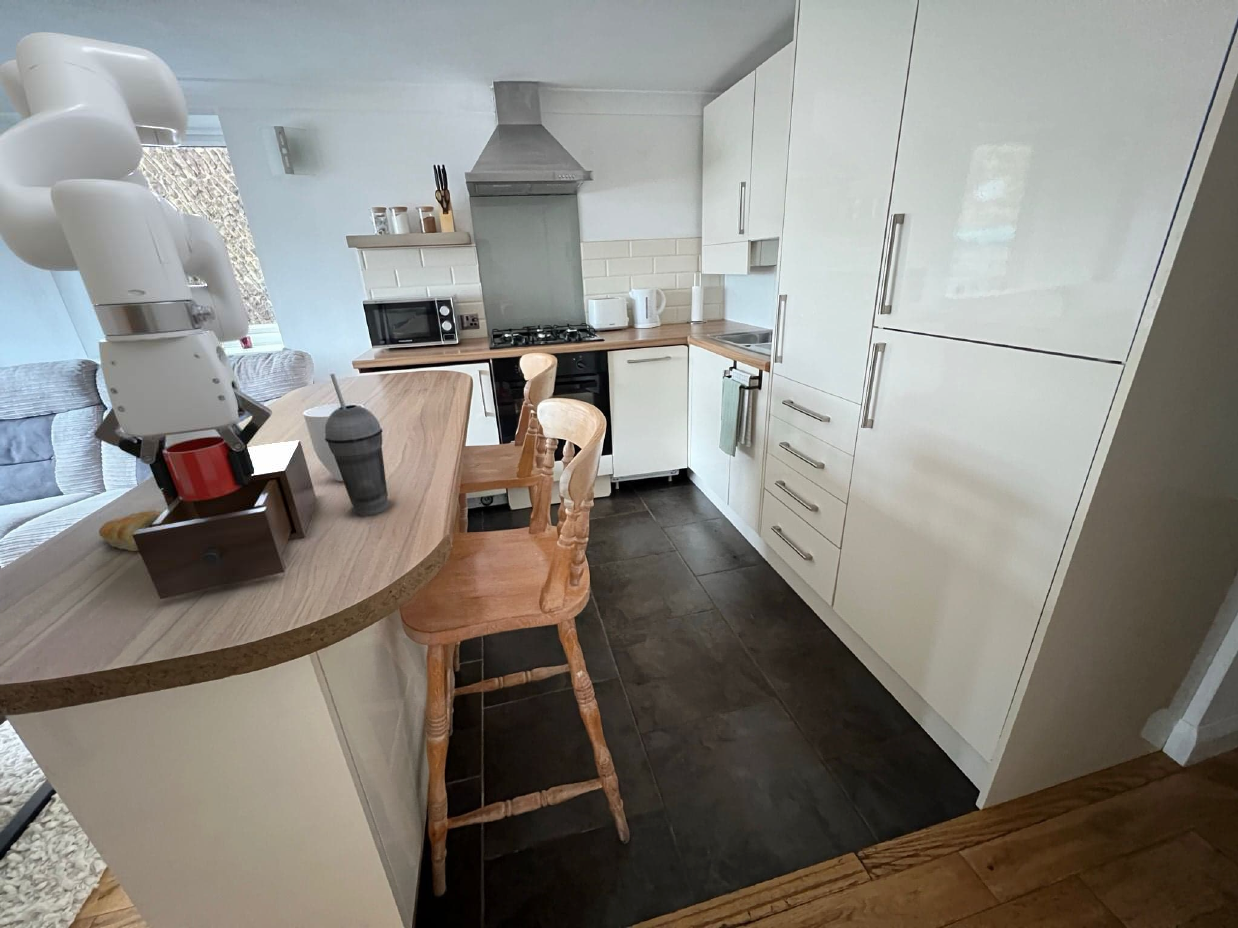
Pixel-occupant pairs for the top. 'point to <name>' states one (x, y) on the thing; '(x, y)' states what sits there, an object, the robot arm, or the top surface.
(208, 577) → the drawer
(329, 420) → the beverage cup
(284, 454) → the cabinet
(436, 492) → the top surface
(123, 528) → the pastry
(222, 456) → the red cup
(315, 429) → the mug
